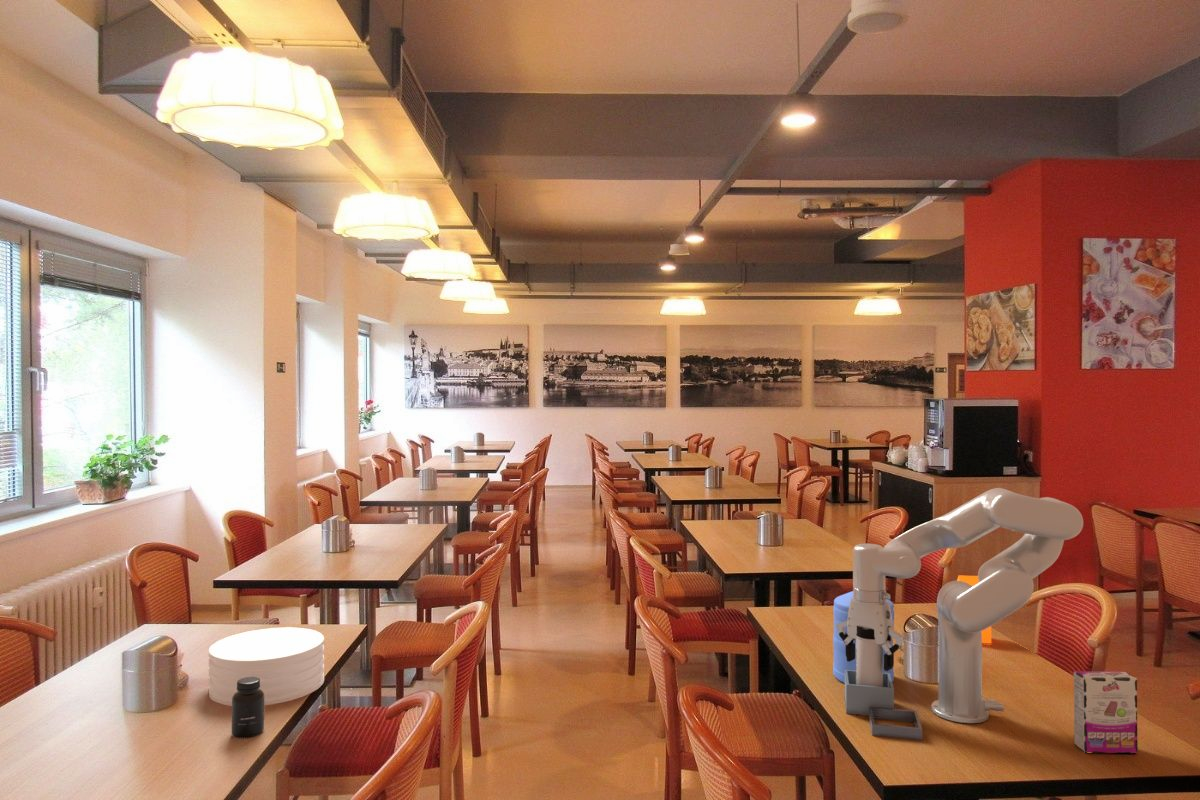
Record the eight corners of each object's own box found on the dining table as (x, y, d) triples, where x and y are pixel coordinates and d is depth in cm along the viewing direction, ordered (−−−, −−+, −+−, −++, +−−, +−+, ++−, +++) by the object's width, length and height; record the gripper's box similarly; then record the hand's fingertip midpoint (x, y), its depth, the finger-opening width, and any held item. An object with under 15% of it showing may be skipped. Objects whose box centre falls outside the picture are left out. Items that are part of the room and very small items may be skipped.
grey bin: (889, 701, 203) (889, 673, 203) (893, 718, 193) (894, 688, 193) (844, 697, 206) (844, 669, 206) (846, 713, 196) (846, 684, 195)
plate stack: (204, 713, 196) (203, 666, 196) (213, 675, 222) (213, 633, 222) (326, 698, 206) (326, 652, 206) (321, 663, 232) (321, 623, 232)
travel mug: (887, 702, 200) (887, 621, 199) (876, 710, 195) (876, 627, 194) (863, 696, 204) (863, 616, 204) (851, 704, 199) (851, 622, 199)
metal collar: (916, 721, 191) (916, 711, 191) (922, 740, 181) (922, 729, 181) (868, 717, 193) (868, 706, 193) (872, 735, 183) (872, 724, 183)
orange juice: (953, 635, 258) (954, 572, 257) (983, 636, 256) (983, 573, 256) (961, 643, 250) (961, 578, 250) (991, 644, 249) (992, 579, 248)
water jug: (874, 693, 208) (875, 584, 208) (821, 677, 220) (821, 574, 220) (905, 679, 219) (905, 575, 218) (853, 664, 230) (853, 566, 230)
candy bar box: (1124, 744, 178) (1125, 670, 178) (1138, 755, 173) (1139, 678, 173) (1072, 743, 179) (1072, 669, 179) (1084, 754, 174) (1085, 677, 174)
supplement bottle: (243, 741, 180) (243, 687, 180) (225, 734, 183) (224, 681, 183) (270, 730, 186) (270, 678, 185) (252, 724, 189) (252, 672, 189)
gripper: (910, 598, 196) (910, 669, 196) (844, 586, 208) (844, 653, 208) (896, 604, 190) (896, 677, 191) (829, 592, 202) (829, 660, 203)
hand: (869, 664), depth 199 cm, fingers open, 9 cm apart
